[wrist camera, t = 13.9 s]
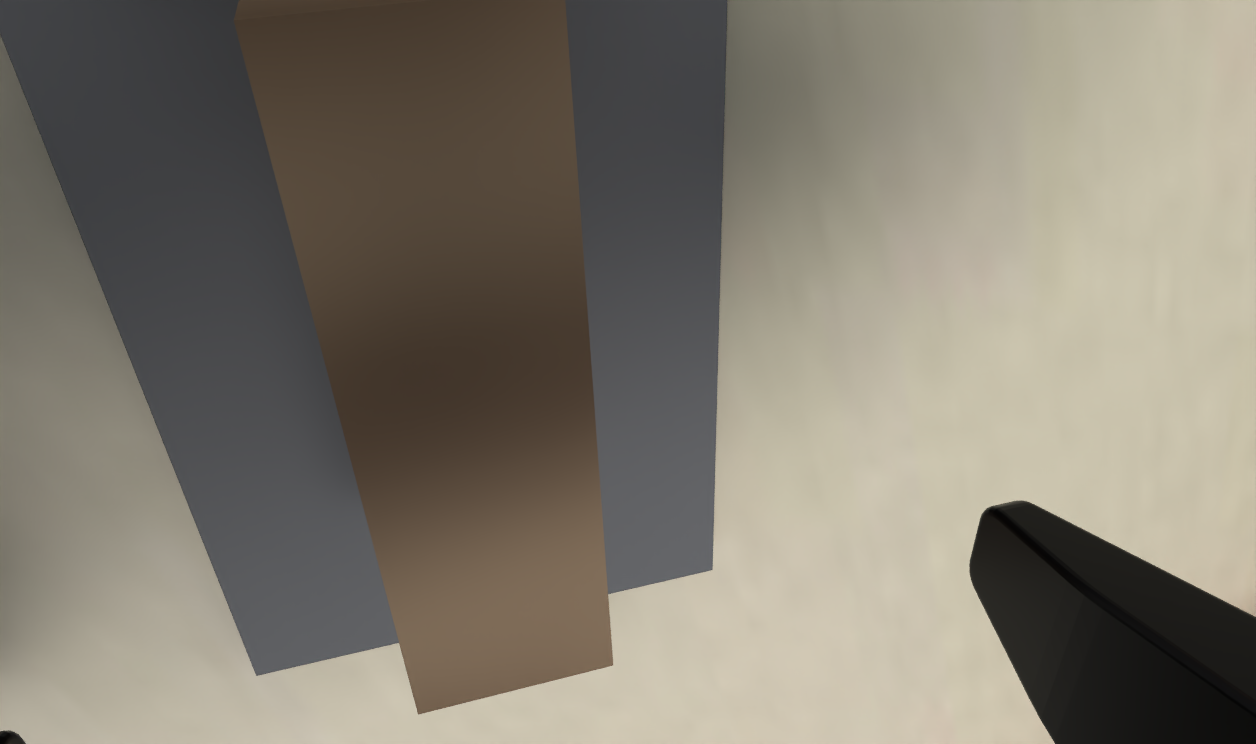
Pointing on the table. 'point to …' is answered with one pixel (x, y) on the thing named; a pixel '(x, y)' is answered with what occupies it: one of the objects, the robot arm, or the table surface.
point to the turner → (449, 316)
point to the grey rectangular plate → (281, 316)
